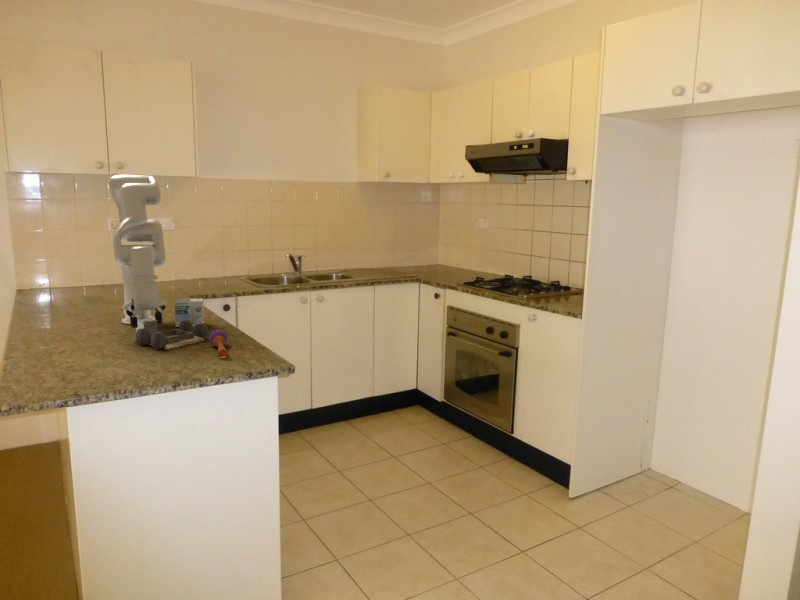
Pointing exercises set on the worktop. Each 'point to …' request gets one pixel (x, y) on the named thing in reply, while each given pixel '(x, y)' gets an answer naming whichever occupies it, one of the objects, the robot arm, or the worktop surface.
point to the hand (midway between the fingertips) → (146, 325)
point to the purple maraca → (219, 342)
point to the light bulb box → (189, 311)
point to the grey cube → (148, 325)
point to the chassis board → (173, 335)
